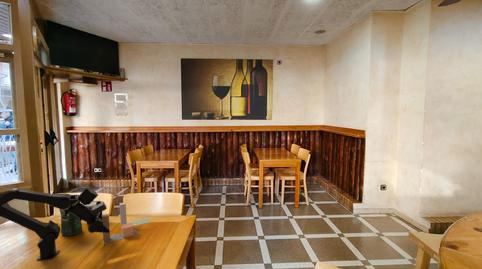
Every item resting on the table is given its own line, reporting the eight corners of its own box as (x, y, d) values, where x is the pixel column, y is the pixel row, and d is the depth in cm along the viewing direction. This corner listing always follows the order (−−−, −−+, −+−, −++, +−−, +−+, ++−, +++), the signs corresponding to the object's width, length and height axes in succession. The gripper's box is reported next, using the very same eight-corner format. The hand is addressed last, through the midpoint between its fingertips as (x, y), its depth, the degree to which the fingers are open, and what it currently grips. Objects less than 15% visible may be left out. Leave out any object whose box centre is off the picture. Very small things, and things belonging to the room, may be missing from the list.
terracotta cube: (123, 237, 127) (122, 228, 127) (122, 233, 132) (121, 224, 131) (133, 235, 130) (133, 226, 129) (132, 231, 134) (132, 222, 134)
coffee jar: (85, 230, 138) (83, 198, 137) (73, 237, 131) (70, 203, 129) (70, 228, 140) (68, 197, 138) (58, 235, 132) (55, 202, 131)
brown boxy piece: (103, 245, 122) (102, 218, 121) (103, 239, 128) (101, 213, 127) (137, 236, 130) (136, 211, 129) (136, 231, 136) (135, 207, 135)
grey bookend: (121, 230, 138) (120, 206, 136) (120, 225, 144) (119, 202, 142) (151, 223, 146) (150, 200, 144) (148, 219, 152) (148, 197, 150)
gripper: (94, 204, 114) (122, 221, 120) (95, 193, 130) (119, 208, 136) (75, 224, 110) (105, 241, 117) (78, 210, 126) (104, 225, 133)
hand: (109, 227), depth 126 cm, fingers open, 9 cm apart
